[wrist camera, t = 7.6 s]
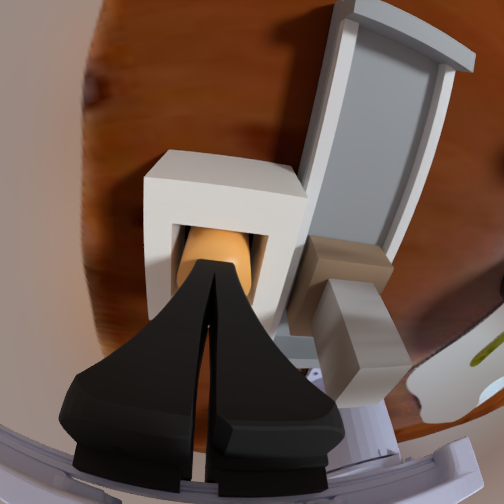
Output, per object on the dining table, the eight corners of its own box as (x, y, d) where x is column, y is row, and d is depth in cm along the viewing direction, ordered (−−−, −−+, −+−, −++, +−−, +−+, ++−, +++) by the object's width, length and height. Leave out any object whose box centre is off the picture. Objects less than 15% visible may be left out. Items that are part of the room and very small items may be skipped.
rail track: (336, 337, 21) (346, 369, 18) (256, 332, 20) (258, 368, 17) (439, 49, 10) (476, 50, 7) (334, 3, 9) (357, -13, 7)
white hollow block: (263, 281, 17) (268, 333, 14) (161, 269, 17) (144, 318, 13) (290, 165, 14) (308, 198, 10) (165, 149, 13) (138, 176, 10)
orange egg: (243, 257, 15) (245, 313, 12) (189, 251, 15) (176, 305, 12) (253, 208, 14) (257, 256, 10) (193, 200, 13) (177, 247, 10)
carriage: (347, 313, 17) (381, 412, 12) (285, 309, 17) (303, 419, 11) (379, 245, 15) (441, 346, 9) (309, 235, 14) (351, 350, 8)
